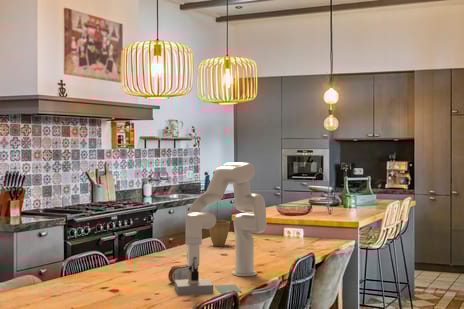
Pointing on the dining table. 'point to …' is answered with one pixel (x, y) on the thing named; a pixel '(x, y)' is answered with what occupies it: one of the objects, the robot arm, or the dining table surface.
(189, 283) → the plug
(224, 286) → the mat
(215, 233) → the plant pot
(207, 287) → the grey plate with hole
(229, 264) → the dining table surface
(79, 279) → the dining table surface
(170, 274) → the tin
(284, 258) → the dining table surface
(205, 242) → the dining table surface
